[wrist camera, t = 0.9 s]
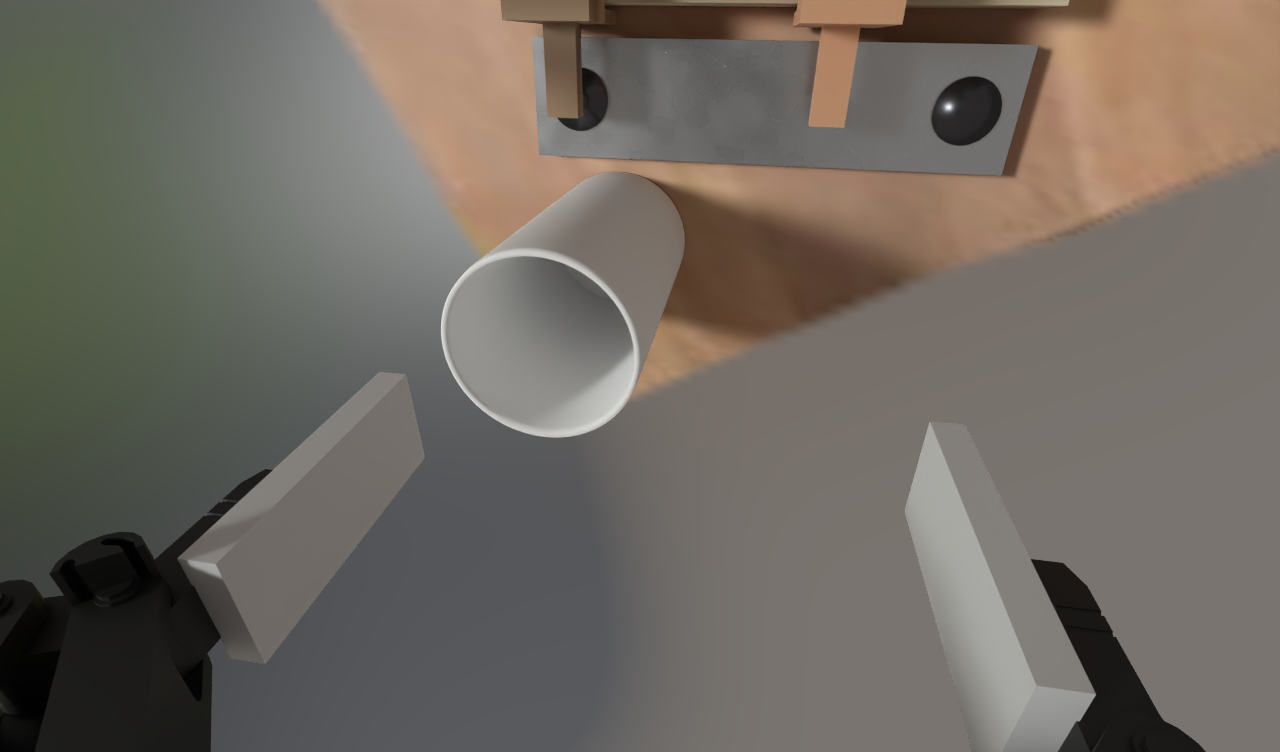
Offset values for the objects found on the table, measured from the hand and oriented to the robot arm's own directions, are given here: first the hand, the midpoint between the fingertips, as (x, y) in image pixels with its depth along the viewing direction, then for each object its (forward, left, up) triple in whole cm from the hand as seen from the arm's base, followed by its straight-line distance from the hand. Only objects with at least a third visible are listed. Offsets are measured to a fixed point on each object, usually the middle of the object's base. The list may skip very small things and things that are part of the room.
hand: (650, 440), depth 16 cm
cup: (+2, -6, -24) cm, 25 cm away
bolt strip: (-6, +2, -24) cm, 25 cm away
